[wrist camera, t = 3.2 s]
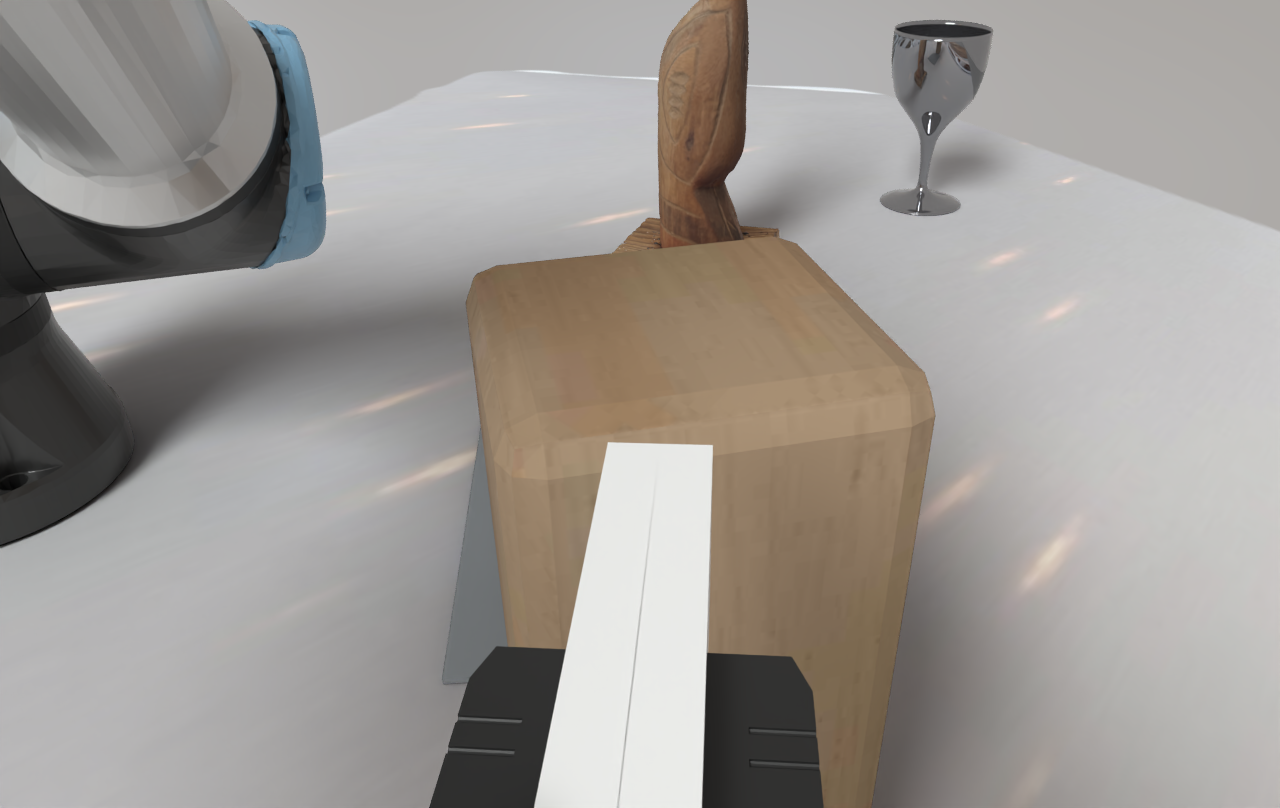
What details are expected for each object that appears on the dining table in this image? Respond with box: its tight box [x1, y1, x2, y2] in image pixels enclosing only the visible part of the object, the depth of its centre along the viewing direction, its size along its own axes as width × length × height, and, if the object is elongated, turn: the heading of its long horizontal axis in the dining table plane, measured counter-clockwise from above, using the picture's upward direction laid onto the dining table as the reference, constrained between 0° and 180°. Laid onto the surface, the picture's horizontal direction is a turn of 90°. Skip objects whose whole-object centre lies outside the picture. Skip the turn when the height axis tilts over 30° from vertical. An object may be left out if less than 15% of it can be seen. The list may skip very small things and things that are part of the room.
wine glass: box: [880, 20, 993, 216], centre depth 85 cm, size 8×8×15 cm
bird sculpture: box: [612, 0, 779, 254], centre depth 68 cm, size 11×12×32 cm
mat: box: [442, 428, 508, 684], centre depth 49 cm, size 20×18×1 cm
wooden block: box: [466, 237, 935, 808], centre depth 29 cm, size 10×10×20 cm
